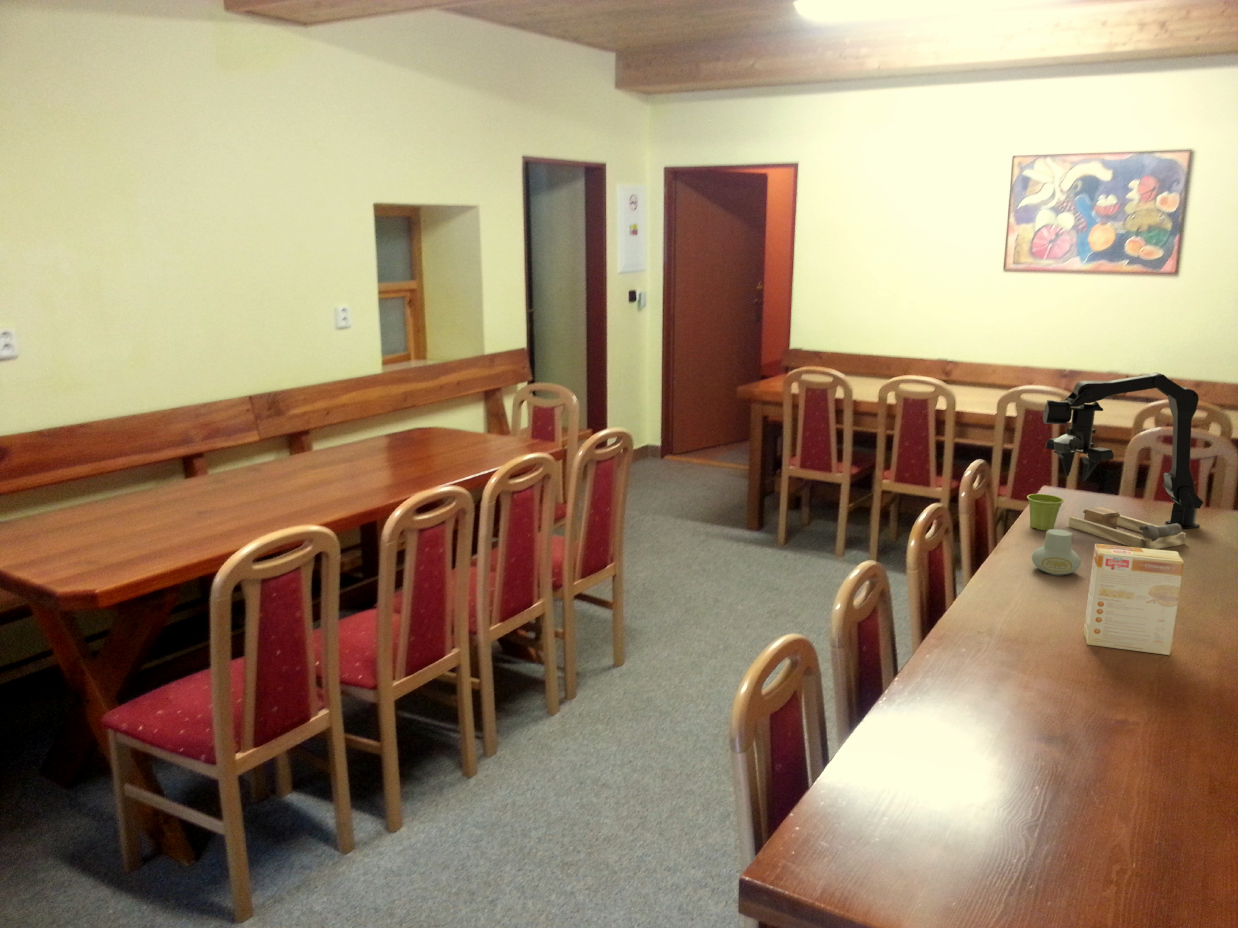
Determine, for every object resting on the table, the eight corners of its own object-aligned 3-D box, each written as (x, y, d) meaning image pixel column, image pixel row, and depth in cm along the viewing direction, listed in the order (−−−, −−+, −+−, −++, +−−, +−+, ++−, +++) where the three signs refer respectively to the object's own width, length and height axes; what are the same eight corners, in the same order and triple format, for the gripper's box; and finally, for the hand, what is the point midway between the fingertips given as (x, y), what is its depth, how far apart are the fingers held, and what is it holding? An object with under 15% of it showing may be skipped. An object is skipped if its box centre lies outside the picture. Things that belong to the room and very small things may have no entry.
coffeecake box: (1163, 642, 193) (1177, 550, 189) (1170, 656, 186) (1185, 561, 182) (1082, 631, 198) (1094, 542, 193) (1086, 645, 191) (1099, 552, 187)
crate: (1096, 523, 276) (1099, 506, 275) (1117, 529, 270) (1120, 512, 268) (1081, 525, 273) (1083, 508, 272) (1102, 532, 267) (1104, 514, 266)
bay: (1106, 520, 278) (1109, 498, 277) (1189, 545, 256) (1192, 521, 254) (1068, 526, 272) (1071, 503, 270) (1149, 552, 249) (1153, 528, 248)
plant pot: (1063, 533, 265) (1067, 503, 263) (1027, 531, 266) (1030, 501, 264) (1055, 524, 274) (1059, 494, 272) (1020, 521, 275) (1024, 492, 273)
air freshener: (1030, 573, 232) (1035, 534, 230) (1030, 563, 240) (1034, 525, 238) (1080, 579, 228) (1085, 539, 226) (1078, 569, 236) (1083, 530, 234)
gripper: (1035, 421, 279) (1029, 473, 282) (1090, 433, 262) (1083, 488, 266) (1062, 419, 283) (1056, 470, 287) (1118, 430, 267) (1110, 484, 270)
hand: (1075, 478), depth 277 cm, fingers open, 6 cm apart
